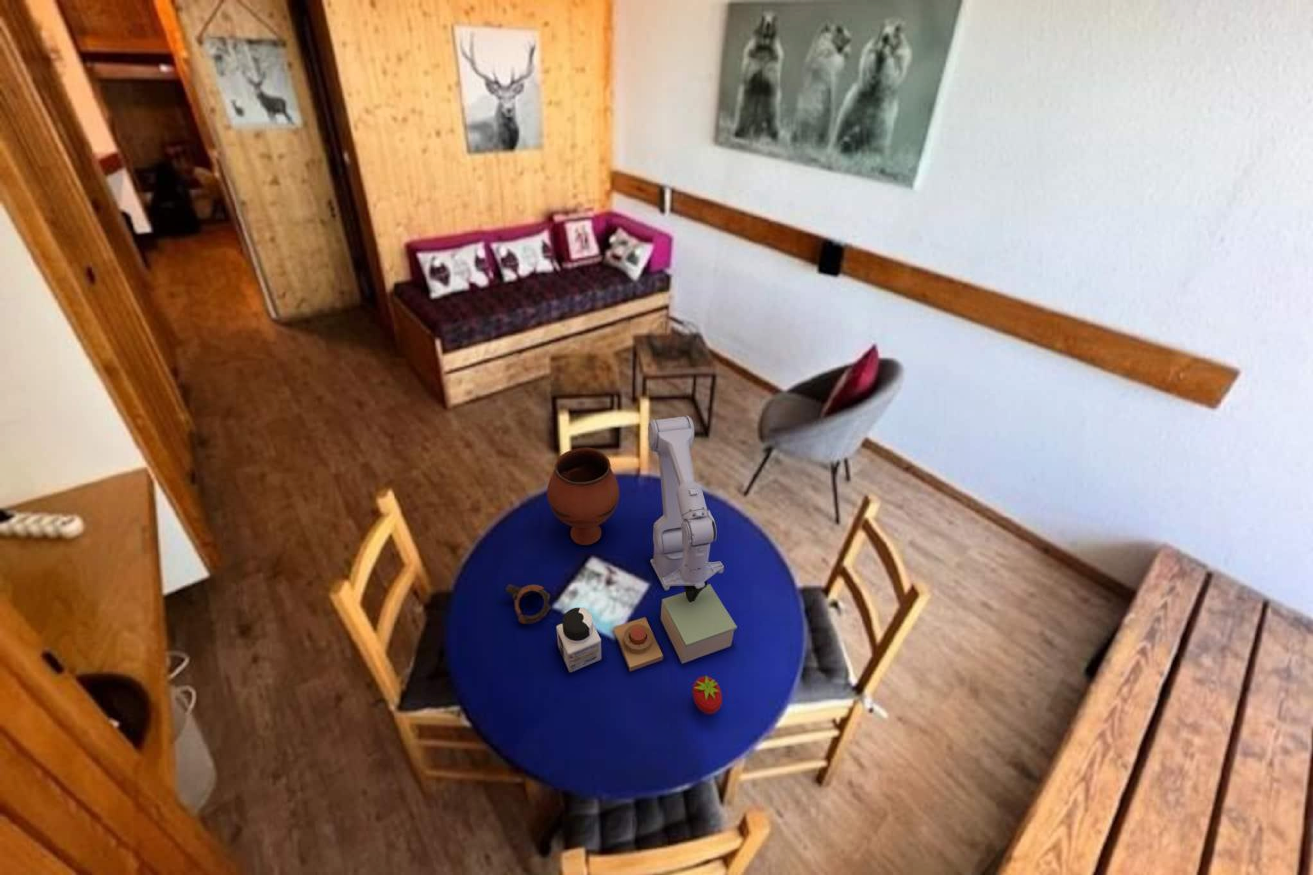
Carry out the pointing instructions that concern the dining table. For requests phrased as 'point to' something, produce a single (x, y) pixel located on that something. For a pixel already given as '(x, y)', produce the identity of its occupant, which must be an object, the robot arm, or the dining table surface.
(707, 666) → the dining table surface
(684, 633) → the lid
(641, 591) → the dining table surface
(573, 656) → the container
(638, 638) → the button
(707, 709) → the strawberry
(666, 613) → the wooden box
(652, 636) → the control block
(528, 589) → the rusty metal ring
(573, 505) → the goblet
